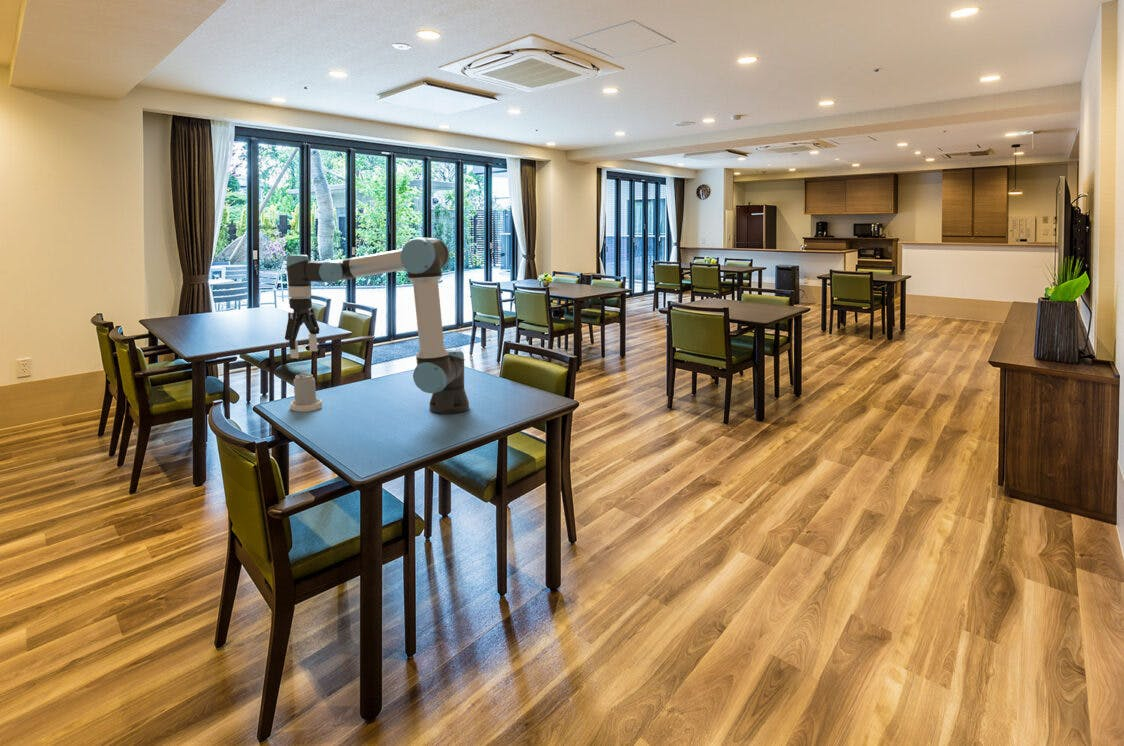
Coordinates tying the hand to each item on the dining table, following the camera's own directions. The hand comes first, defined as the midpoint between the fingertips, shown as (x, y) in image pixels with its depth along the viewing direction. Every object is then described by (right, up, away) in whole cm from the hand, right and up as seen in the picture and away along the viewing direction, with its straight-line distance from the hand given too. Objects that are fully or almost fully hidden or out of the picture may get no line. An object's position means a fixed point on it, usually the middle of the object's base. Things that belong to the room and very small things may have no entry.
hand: (304, 354), depth 230 cm
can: (-1, -20, +4) cm, 20 cm away
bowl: (-1, -20, +4) cm, 21 cm away
